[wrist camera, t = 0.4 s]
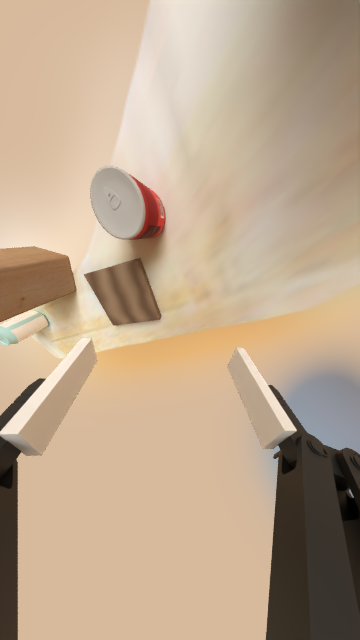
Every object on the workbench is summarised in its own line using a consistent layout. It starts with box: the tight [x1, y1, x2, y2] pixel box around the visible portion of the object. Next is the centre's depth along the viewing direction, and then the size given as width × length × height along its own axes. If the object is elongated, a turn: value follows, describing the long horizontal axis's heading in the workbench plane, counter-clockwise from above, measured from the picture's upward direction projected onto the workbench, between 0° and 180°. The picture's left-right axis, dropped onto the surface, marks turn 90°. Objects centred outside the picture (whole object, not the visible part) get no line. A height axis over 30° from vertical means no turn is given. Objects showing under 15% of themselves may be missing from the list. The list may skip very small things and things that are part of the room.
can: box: [0, 311, 48, 345], centre depth 47 cm, size 7×7×12 cm
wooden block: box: [0, 247, 76, 322], centre depth 31 cm, size 10×10×20 cm
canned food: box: [90, 166, 165, 240], centre depth 23 cm, size 8×8×11 cm
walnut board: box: [84, 258, 161, 325], centre depth 38 cm, size 16×16×2 cm
